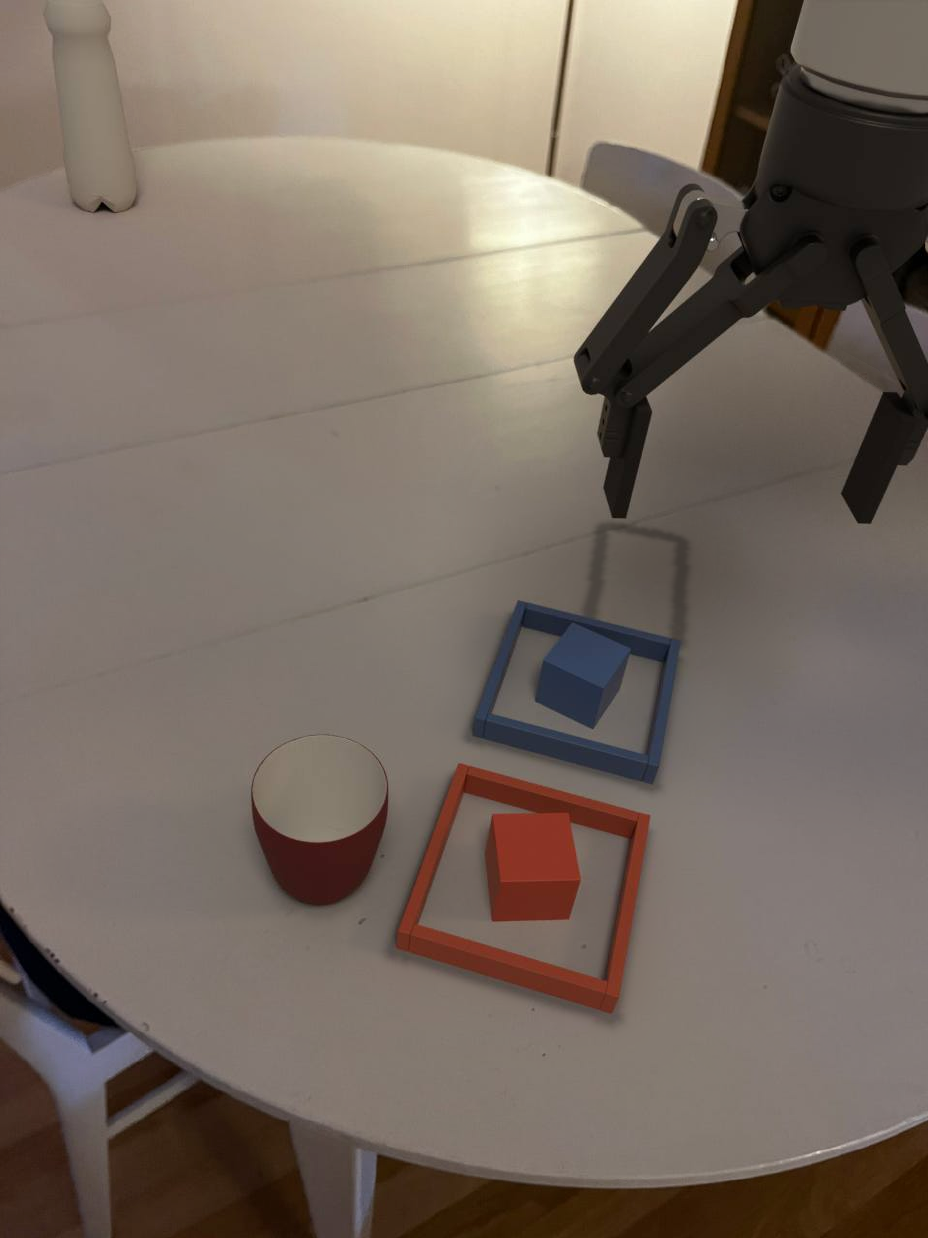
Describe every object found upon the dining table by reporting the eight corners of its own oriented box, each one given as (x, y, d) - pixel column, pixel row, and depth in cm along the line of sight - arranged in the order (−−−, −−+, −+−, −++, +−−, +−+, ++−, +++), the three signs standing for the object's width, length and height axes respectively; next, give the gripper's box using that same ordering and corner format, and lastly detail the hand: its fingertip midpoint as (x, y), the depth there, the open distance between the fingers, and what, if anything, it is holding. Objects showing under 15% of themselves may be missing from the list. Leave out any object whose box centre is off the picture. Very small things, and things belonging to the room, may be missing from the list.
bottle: (74, 189, 143) (30, -64, 123) (141, 190, 145) (109, -59, 124) (67, 215, 137) (21, -47, 116) (138, 216, 138) (104, -42, 118)
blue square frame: (672, 666, 84) (681, 640, 82) (650, 792, 74) (659, 766, 72) (513, 625, 86) (517, 599, 84) (471, 743, 76) (474, 717, 74)
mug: (307, 786, 72) (304, 691, 65) (414, 822, 71) (422, 728, 64) (236, 911, 65) (225, 817, 58) (354, 953, 63) (357, 863, 56)
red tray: (641, 840, 71) (650, 815, 69) (609, 1021, 61) (619, 997, 59) (455, 788, 73) (458, 762, 71) (395, 955, 63) (397, 930, 61)
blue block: (618, 693, 81) (631, 648, 77) (592, 733, 77) (603, 688, 74) (562, 666, 82) (572, 621, 79) (534, 704, 79) (543, 659, 76)
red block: (557, 856, 69) (568, 812, 66) (568, 923, 65) (581, 880, 62) (484, 857, 69) (492, 813, 65) (491, 925, 65) (500, 881, 61)
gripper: (1115, 74, 45) (924, 471, 59) (559, 32, 42) (502, 459, 57) (1219, 133, 40) (981, 554, 54) (590, 89, 37) (517, 545, 51)
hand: (736, 506), depth 55 cm, fingers open, 13 cm apart
